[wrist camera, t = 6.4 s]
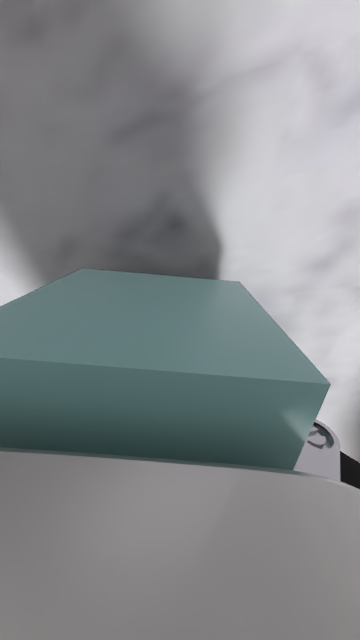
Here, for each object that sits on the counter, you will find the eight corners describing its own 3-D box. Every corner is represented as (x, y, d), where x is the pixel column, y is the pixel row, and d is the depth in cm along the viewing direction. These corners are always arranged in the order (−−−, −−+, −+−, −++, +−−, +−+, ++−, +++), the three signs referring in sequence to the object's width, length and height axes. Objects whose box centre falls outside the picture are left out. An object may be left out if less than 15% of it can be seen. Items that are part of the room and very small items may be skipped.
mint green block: (81, 268, 11) (-93, 350, 4) (239, 281, 11) (330, 384, 4) (93, 392, 14) (4, 559, 7) (216, 402, 14) (246, 575, 7)
